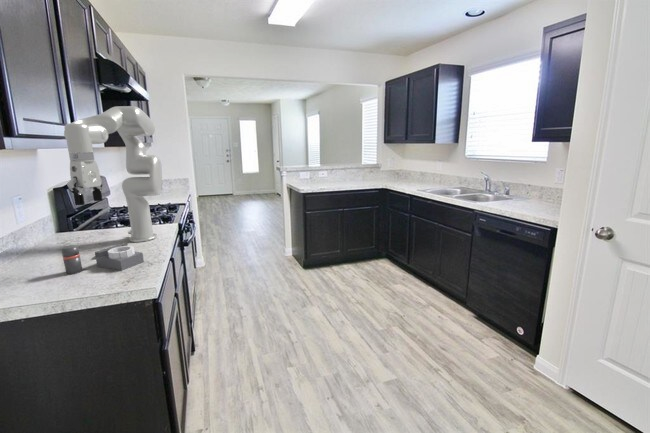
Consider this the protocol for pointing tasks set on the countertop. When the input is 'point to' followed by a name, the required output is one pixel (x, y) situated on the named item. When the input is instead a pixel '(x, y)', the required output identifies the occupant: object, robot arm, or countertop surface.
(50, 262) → the countertop surface
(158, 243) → the countertop surface
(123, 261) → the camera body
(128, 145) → the robot arm
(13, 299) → the countertop surface
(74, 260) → the lens
